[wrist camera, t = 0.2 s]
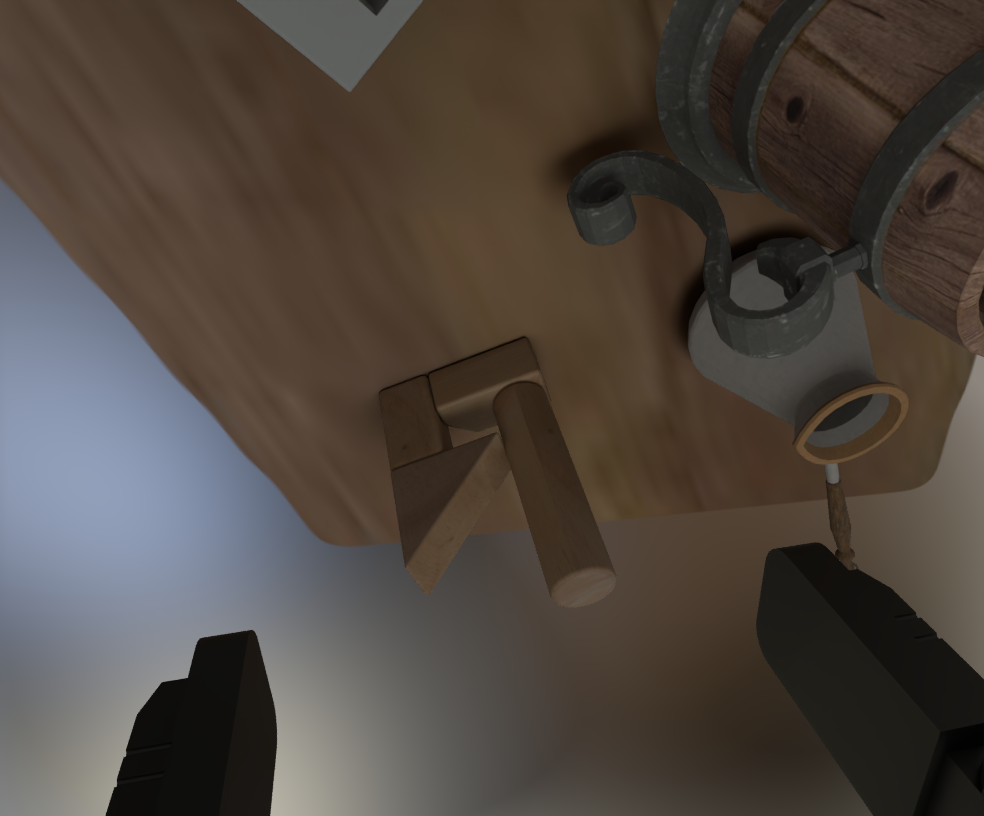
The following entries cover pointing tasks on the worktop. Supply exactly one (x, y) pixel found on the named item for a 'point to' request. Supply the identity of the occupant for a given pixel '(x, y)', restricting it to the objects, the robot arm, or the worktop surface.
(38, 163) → the worktop surface
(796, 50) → the tankard
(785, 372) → the coffee pot
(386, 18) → the open gray rectangular frame
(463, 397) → the wooden block
